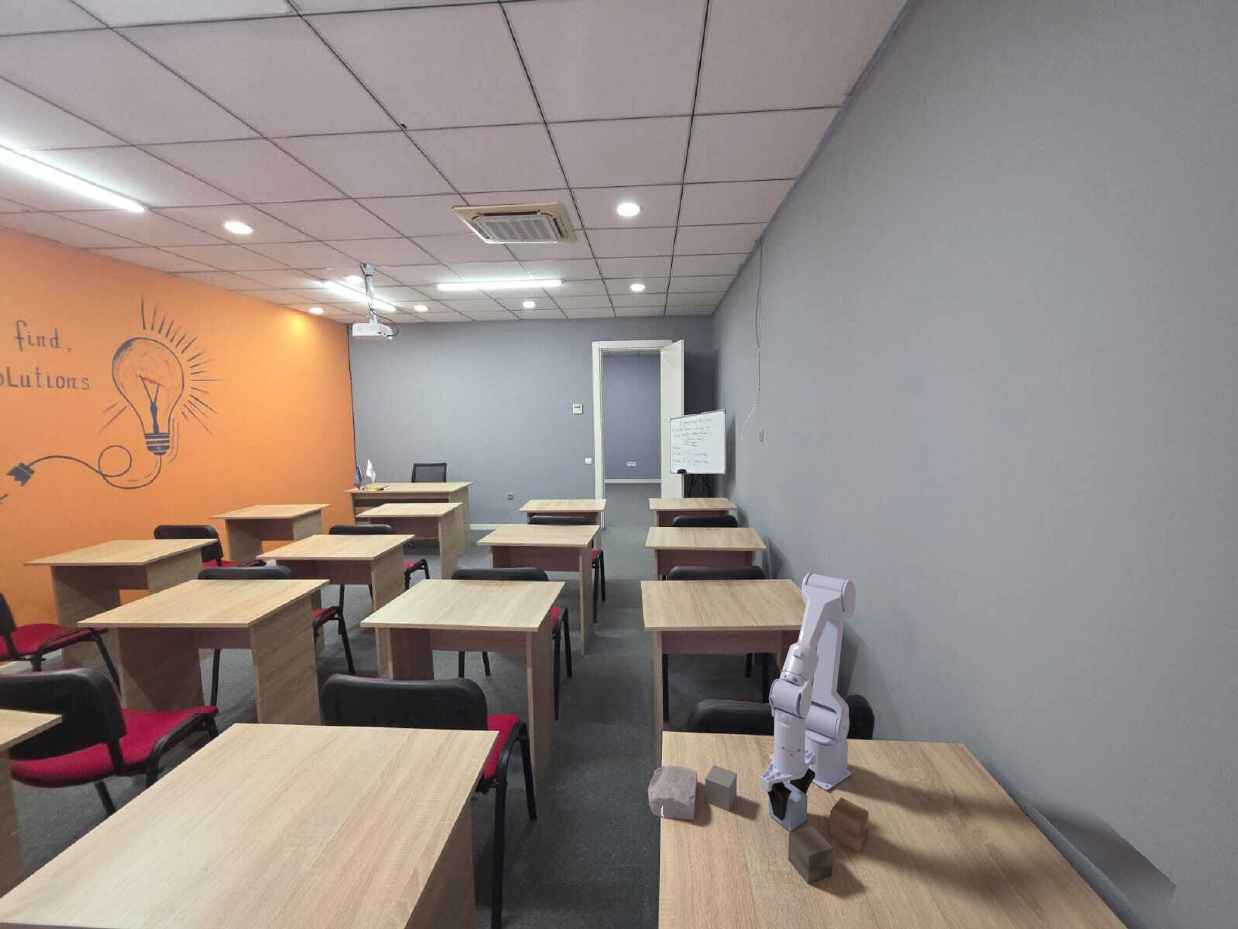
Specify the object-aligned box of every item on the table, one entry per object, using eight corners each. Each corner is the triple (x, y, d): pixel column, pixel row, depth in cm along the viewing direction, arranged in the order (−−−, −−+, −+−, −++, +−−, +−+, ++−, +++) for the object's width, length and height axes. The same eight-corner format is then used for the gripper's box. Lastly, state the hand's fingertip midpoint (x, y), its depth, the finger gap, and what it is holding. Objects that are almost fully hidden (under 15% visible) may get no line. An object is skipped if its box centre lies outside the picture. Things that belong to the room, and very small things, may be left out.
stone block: (648, 825, 95) (698, 823, 93) (643, 801, 95) (694, 798, 94) (655, 785, 107) (700, 783, 105) (651, 764, 107) (696, 760, 105)
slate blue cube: (785, 804, 98) (785, 780, 98) (806, 820, 94) (807, 795, 94) (768, 814, 95) (769, 790, 95) (790, 831, 91) (791, 806, 91)
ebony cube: (811, 852, 87) (812, 825, 87) (832, 876, 82) (832, 847, 82) (788, 860, 85) (788, 833, 85) (808, 884, 81) (808, 856, 80)
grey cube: (713, 787, 103) (713, 764, 103) (736, 796, 101) (736, 773, 100) (704, 802, 99) (705, 778, 99) (728, 812, 96) (729, 788, 96)
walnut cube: (840, 822, 94) (841, 797, 94) (867, 837, 91) (868, 811, 90) (829, 836, 91) (830, 810, 90) (857, 852, 87) (858, 826, 87)
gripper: (795, 720, 101) (793, 783, 102) (747, 745, 93) (746, 813, 94) (825, 738, 96) (824, 804, 96) (778, 765, 87) (776, 838, 88)
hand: (787, 810), depth 95 cm, fingers closed on slate blue cube, 5 cm apart
